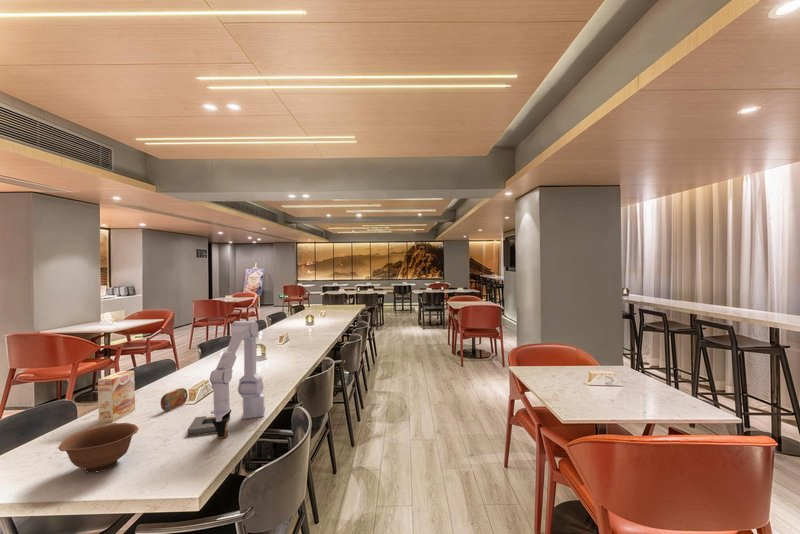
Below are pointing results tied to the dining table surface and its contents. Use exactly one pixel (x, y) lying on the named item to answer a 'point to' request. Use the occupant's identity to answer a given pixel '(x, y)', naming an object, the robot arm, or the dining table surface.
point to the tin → (174, 399)
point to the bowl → (99, 446)
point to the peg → (225, 432)
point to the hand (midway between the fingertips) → (222, 432)
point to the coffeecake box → (116, 396)
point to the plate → (202, 425)
